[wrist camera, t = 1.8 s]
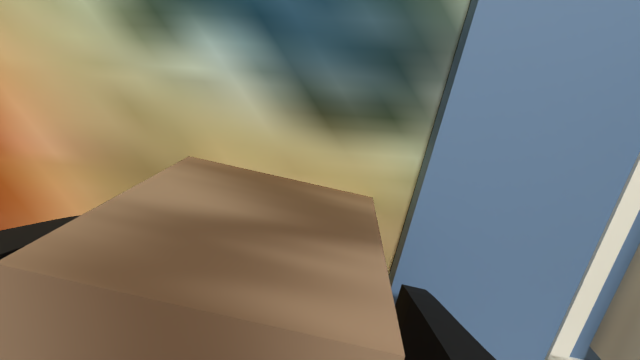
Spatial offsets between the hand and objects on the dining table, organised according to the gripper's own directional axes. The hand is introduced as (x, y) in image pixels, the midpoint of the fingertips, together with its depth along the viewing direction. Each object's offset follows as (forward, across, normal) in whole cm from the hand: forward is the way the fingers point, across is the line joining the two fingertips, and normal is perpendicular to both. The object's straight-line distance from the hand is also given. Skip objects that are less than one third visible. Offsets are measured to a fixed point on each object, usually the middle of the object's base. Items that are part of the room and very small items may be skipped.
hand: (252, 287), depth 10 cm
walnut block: (+2, 0, 0) cm, 2 cm away
